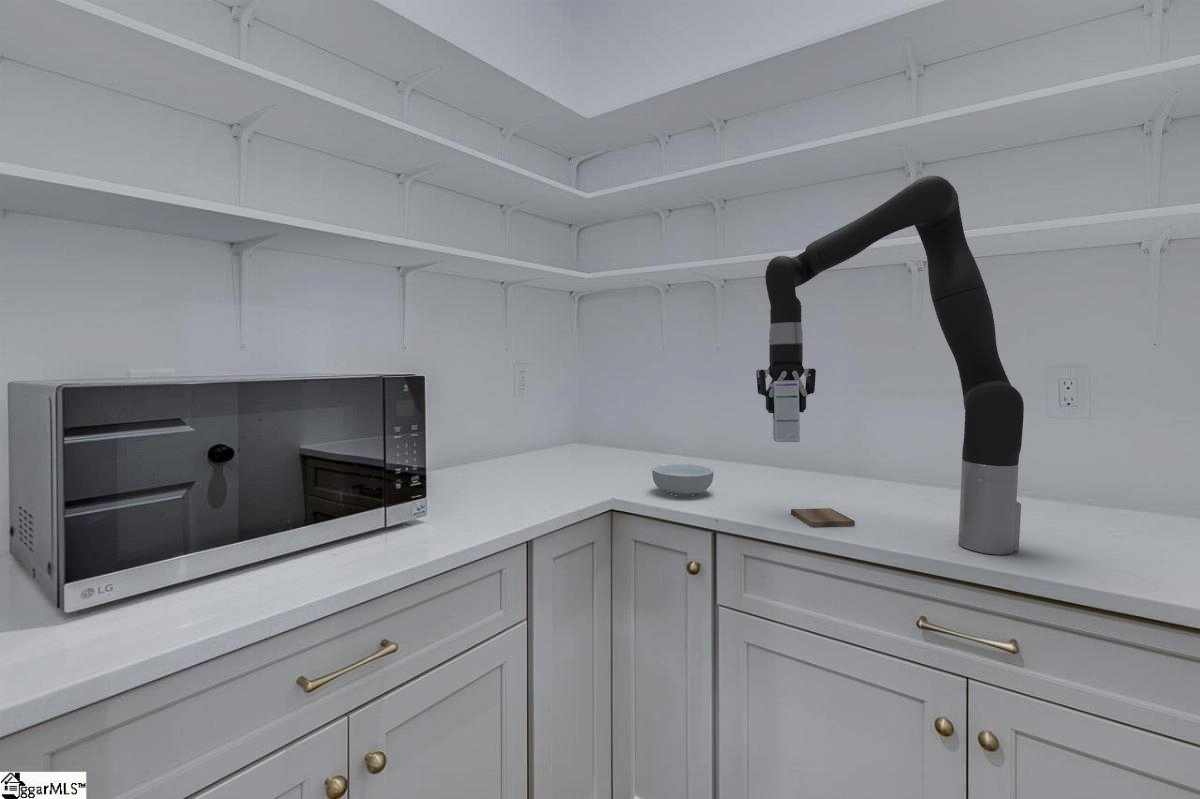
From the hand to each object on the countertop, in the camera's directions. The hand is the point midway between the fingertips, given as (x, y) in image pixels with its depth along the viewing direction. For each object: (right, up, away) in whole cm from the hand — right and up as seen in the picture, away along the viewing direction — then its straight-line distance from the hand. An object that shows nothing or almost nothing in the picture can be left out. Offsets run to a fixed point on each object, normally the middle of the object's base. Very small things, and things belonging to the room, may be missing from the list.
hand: (786, 412), depth 137 cm
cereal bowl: (-21, -23, +23) cm, 39 cm away
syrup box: (0, -7, 0) cm, 7 cm away
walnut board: (+7, -25, -3) cm, 26 cm away
